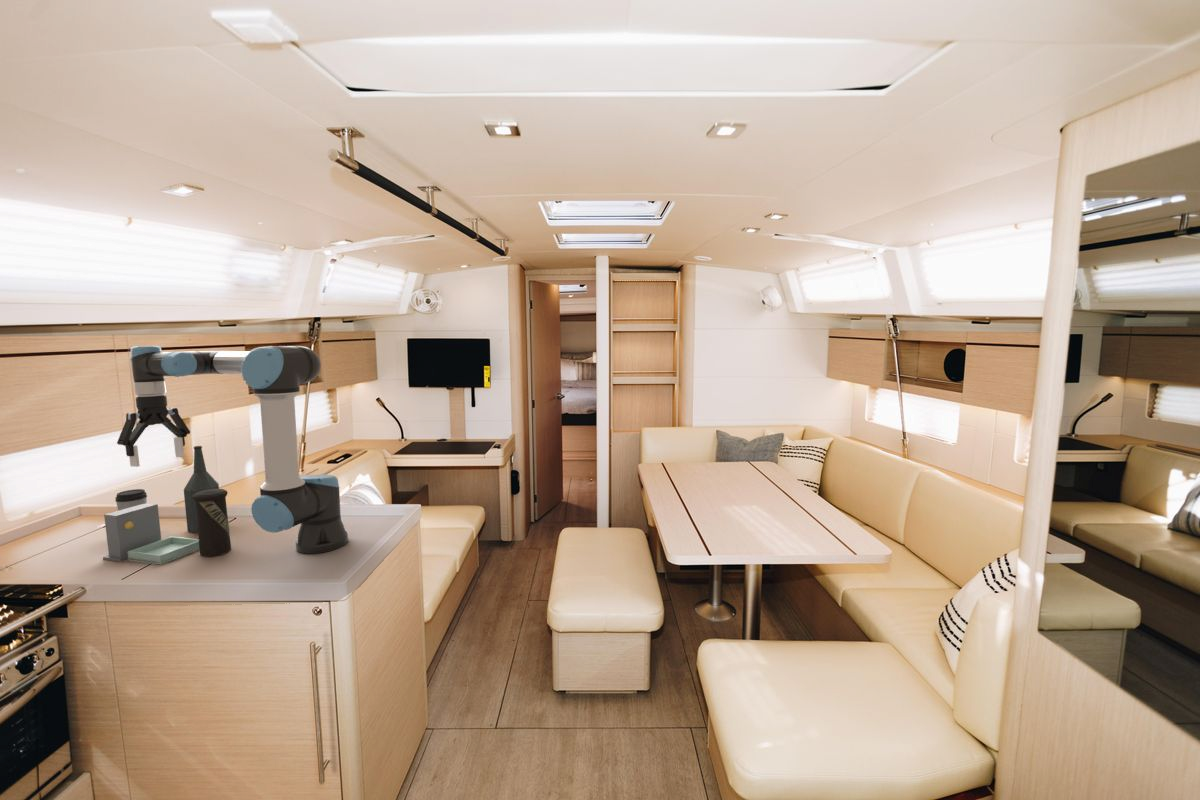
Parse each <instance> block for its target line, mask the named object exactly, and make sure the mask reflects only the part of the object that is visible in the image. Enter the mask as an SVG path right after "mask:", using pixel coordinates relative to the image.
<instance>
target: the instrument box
mask: <svg viewBox="0 0 1200 800" xmlns="http://www.w3.org/2000/svg"><path fill="white" fill-rule="evenodd" d="M159 512H160V511H159V505H158V503H149V502H147V503H145V504H141V505H137V506H134V507H130V508H126V509H123V510H119V511H118V510H116V511H113V512H109V513H106V514H104V525H105V531H106V542H107V551H108V555H105V556H103V557H102V559H103V560H105V561H109V562H110V561H112V562H124V561H126V560H128V551H131V550H134V549H136V548H139V547H142V546H145V545H148V544H151V543H154V542H157V541H160V540H162V533H161V523H160V516H159Z"/></svg>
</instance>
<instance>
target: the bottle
mask: <svg viewBox="0 0 1200 800" xmlns="http://www.w3.org/2000/svg"><path fill="white" fill-rule="evenodd" d="M202 448H203V446H202V445H196V446H193V449H194V451H193V452H194V453H193V474H192V475H191V477H190V478H189V480H188V482H186V485H185V486H184V488H183V495H184V496H183V498H184V507H185V516H186V517H185V519H186V527H187V531H188V533H191V534H198V526H197V514H196V504H195V501H194V500H193V498H192V497H193V495H194V494H195V493H197V492H200V491H204V490H210V489H220V486H219V484H220V483H218V481H217V480H215V479H214V477H213V476H212V475H211V474H210V473H209V471H207V468H206V462H205V458H204V454H203V449H202Z"/></svg>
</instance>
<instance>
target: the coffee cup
mask: <svg viewBox="0 0 1200 800" xmlns="http://www.w3.org/2000/svg"><path fill="white" fill-rule="evenodd" d="M147 497H148V495H147V492H146V491H145V489H142V488H141V489H140V488H138V489H127V490H123V491H120V492H117V493H116V496H115V500H114V501H115V502H116V508H117V511H119V510H123V509H126V508H130V507H134V506H137V505H141V504H145V503H148V502H147Z"/></svg>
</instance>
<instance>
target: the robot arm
mask: <svg viewBox="0 0 1200 800" xmlns="http://www.w3.org/2000/svg"><path fill="white" fill-rule="evenodd" d="M129 360H130V363H131V370H132V378H133V387H134V388H133V389H134V394H135V395H136V397H135V405H136V406H135V407H136V408H137V409H136V410H137V413H136V412H127V413H126V415H125V422H124V425H123V426H122V429H121V431H120V434H119V437H118V440H117V441H116V444H117V445H119V446H124V447H125V454H126V456H127V457H129V464H130V467H132V468H133V467H136V468H138V467H140V465H141V464H140V457H139V449H138V445H137V444H136V442H138V440H139V439H140V437H141V436H142V434H143V432H144V431H145V430H146V428H148V427H149V426H154V425H161V424H162V425H163V427H165V428H167V430H169V431H170V432H171V433H173V435H174V436H175V437H173V443H174V451H175V452H174V453H175V457H176V458H184V457H185V451H184V447H185V446H186V441H185V438H186V437H187V435H190V434H191V430H190V429H189V427H188V426H187V424H186V423H185V422H184V420H183V419H182V417H181V415H180V414H179V410H178V408H177V407H169V408H168V407H167V406H168V398H167V395H166V393H167V388H166V382H165V381H166V380H165V377H175V378H176V377H177V378H179V377H188V376H197V375H198V376H199V375H213V374H215V375H225V374H226V375H241V377H242V379H243V381H245V384H246V385H247V386H248V387H250V388H252V392H253V396H255V397H257V398H258V399H259V403H260V404H259V405H260V417H261V431H262V433H261V434H262V444H263V445H262V447H263V460H264V474H265V475H264V476H265V479H264V482H263V483H262V484H260V486H259V489H260V495H259V496H258V497H256V498H255V499H254V501H253V502H252V503H251V515H252V518H253V520H254V522H255V523H256V524H257V525H258V526H259V527H260V528H261V529H262V530H264V531H265V532H268V533H272V534H274V533H280V532H283V531H287V530H290V529H292V528H293V527H295V526H296V527H297V526H298V525H299V528H298V529H299V531H298V533H297V538H296V541H295V548H296V551H297V552H298V553H300V554H320V553H327V552H330V551H334V550H337V549H340V548H342V547H343V546H345V545H347V544H348V543H349V534H348V532H347V530H346V529H345V526H344V523H343V521H342V515H341V497H340V485H339V484H340V483H339V479H338V477H337V476H335V475H331V474H308V475H302V476H300V469H299V468H300V467H299V456H298V438H297V437H298V435H297V423H296V422H297V419H296V404H295V399H296V397H297V396H298V394H300V392H301V390H300V387H301V386H300V385H302V384H307V383H310V382H312V381H313V380H315V379H316V378H317V377H318V375H320V372H321V368H322V362H321V359H320V356H319V355H318V354H317V352H315V351H314V350H313V349H311V348H309V347H307V346H303V345H287V346H286V345H279V346H273V345H269V346H268V345H267V346H258V347H255V348H253V349H251V350H250V351H249V350H248V351H247V350H246V351H245V350H243V351H241V350H239V351H237V350H235V351H234V350H232V351H231V350H218V349H217V350H203V351H202V350H198V351H197V350H194V351H193V350H192V351H189V350H187V351H162V347H160V346H159V345H138V346H137V345H136V346H132V347H131V348H130V359H129ZM168 415H169V416H170V418H171V419H170V418H169V417H167V416H168ZM138 419H139V420H138ZM137 420H138V421H137ZM172 421H173V422H172Z"/></svg>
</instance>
